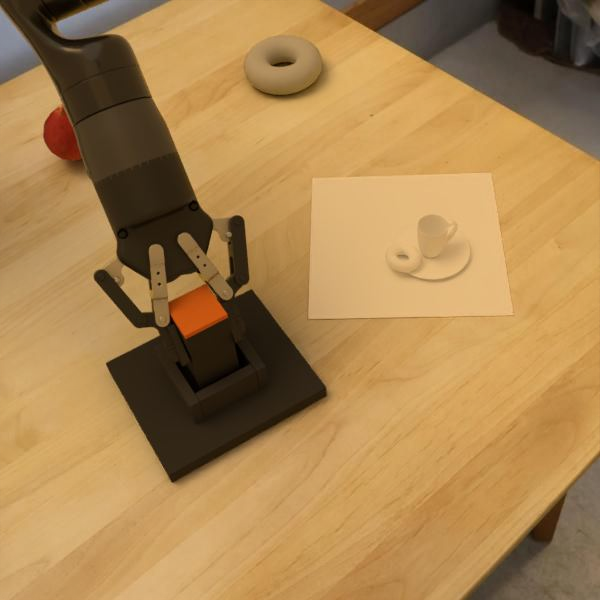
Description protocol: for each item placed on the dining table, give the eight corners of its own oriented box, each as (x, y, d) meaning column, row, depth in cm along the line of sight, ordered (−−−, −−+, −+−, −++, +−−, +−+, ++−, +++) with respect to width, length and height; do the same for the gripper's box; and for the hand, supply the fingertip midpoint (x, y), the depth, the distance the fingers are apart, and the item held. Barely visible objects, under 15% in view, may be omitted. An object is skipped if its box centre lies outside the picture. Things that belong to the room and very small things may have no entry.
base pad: (172, 483, 74) (161, 458, 71) (109, 371, 82) (97, 344, 79) (327, 395, 79) (324, 368, 75) (253, 297, 87) (248, 269, 83)
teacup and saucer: (385, 283, 86) (386, 257, 83) (383, 226, 91) (383, 198, 88) (473, 281, 86) (477, 254, 83) (466, 223, 91) (469, 196, 87)
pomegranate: (45, 170, 101) (23, 117, 95) (68, 138, 104) (48, 85, 98) (88, 179, 99) (69, 125, 93) (110, 146, 103) (93, 92, 96)
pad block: (200, 388, 76) (184, 336, 70) (181, 357, 78) (163, 304, 72) (240, 367, 77) (227, 314, 71) (219, 337, 79) (205, 283, 73)
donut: (339, 76, 108) (289, 41, 113) (338, 53, 105) (287, 19, 110) (277, 112, 105) (229, 74, 110) (275, 89, 102) (225, 52, 107)
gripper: (51, 192, 66) (138, 393, 68) (220, 129, 69) (297, 323, 71) (53, 199, 73) (131, 380, 76) (206, 141, 76) (276, 317, 79)
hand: (211, 351), depth 73 cm, fingers closed on pad block, 4 cm apart
